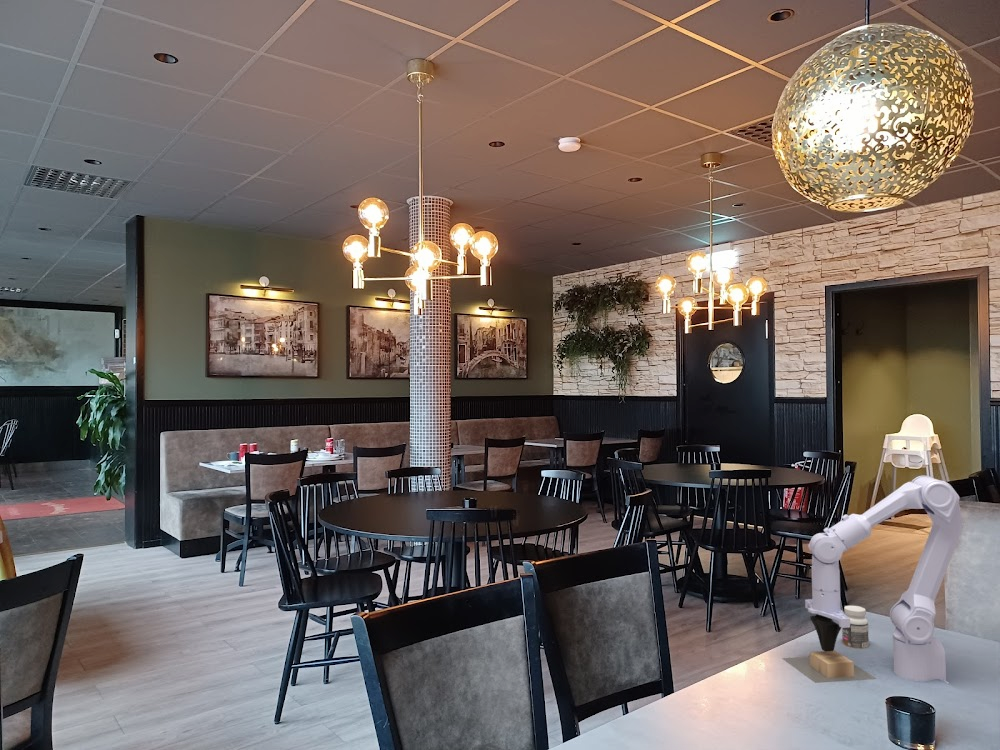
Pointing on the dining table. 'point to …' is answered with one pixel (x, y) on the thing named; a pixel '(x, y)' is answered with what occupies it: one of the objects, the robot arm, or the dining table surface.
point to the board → (805, 668)
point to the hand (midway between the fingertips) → (827, 650)
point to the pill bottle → (856, 628)
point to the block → (831, 664)
